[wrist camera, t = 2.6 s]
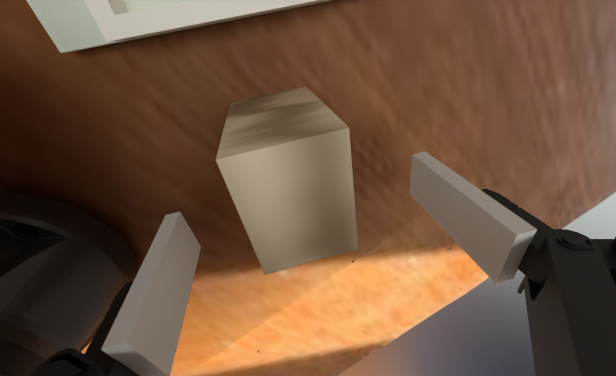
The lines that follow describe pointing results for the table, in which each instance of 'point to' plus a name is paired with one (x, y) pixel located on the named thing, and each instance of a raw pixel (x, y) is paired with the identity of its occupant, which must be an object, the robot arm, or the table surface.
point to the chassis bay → (140, 18)
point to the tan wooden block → (290, 177)
